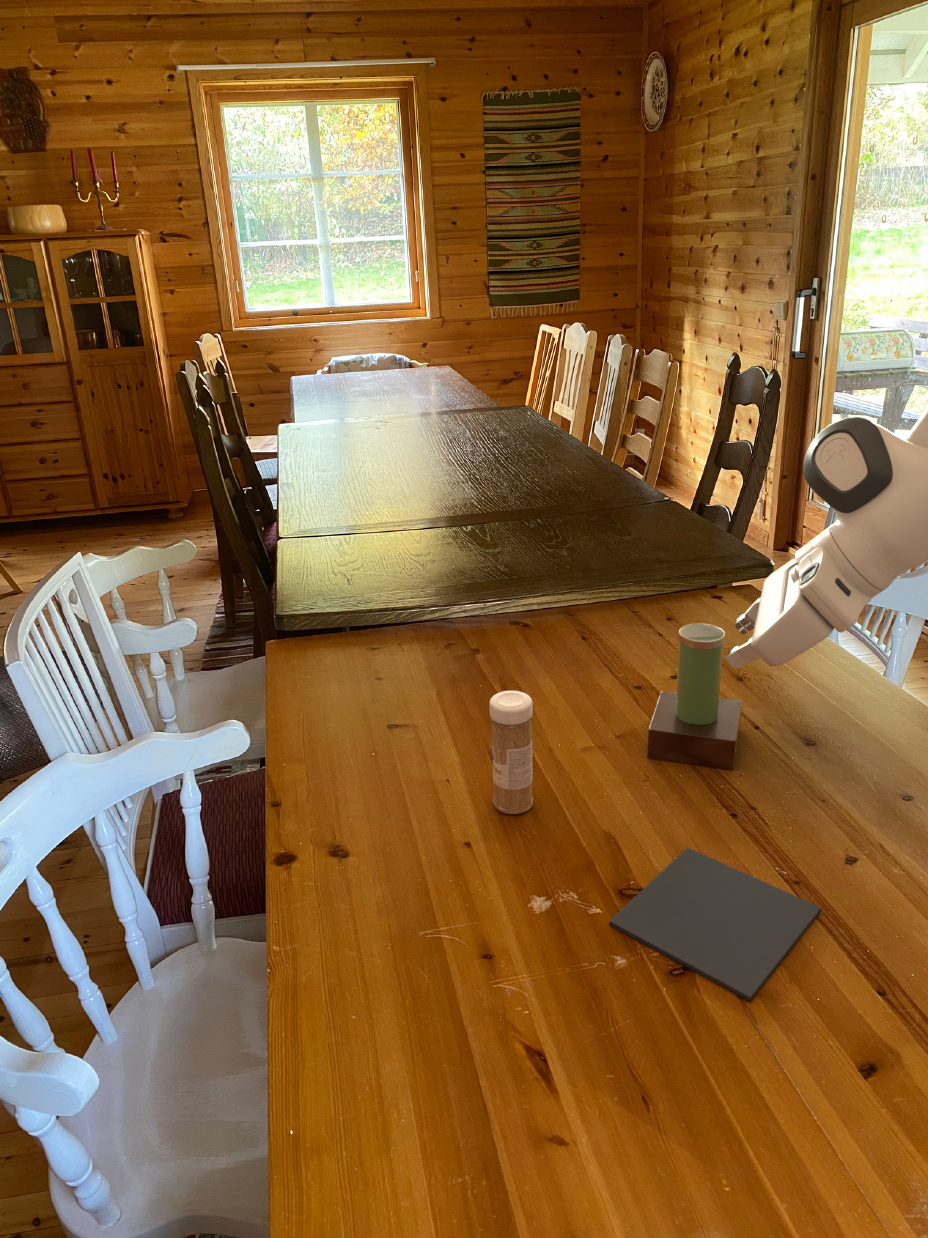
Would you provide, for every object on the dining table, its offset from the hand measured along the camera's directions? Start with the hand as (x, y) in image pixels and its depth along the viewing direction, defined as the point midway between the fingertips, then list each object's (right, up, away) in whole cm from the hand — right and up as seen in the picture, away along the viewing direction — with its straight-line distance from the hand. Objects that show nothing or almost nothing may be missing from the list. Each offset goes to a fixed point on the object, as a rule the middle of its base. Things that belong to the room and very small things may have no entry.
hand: (734, 644), depth 107 cm
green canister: (-3, -9, +4) cm, 10 cm away
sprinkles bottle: (-26, -18, -4) cm, 32 cm away
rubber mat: (-8, -25, -22) cm, 34 cm away
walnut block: (-3, -12, +6) cm, 14 cm away
